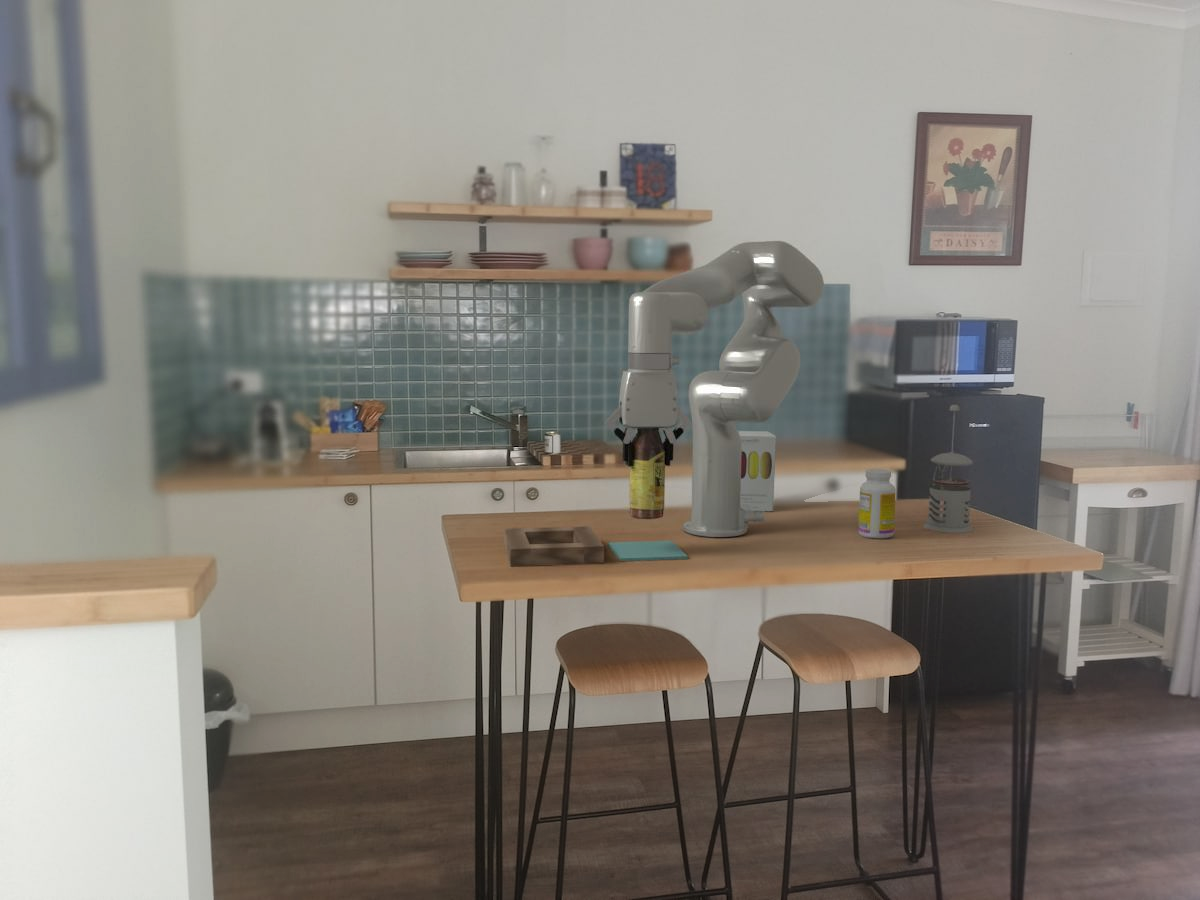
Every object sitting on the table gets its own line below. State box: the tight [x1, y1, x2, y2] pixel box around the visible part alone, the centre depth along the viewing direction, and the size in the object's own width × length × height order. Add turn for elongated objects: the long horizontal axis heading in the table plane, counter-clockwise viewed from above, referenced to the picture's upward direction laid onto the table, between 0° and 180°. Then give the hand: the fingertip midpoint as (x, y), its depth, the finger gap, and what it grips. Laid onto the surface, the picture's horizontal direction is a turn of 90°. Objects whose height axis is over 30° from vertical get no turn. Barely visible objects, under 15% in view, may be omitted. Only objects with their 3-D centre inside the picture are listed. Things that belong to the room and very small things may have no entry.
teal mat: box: [607, 540, 689, 562], centre depth 176 cm, size 12×12×1 cm
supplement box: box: [738, 430, 777, 513], centre depth 216 cm, size 10×9×17 cm
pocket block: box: [503, 525, 605, 567], centre depth 174 cm, size 16×16×3 cm
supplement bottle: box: [858, 468, 896, 540], centre depth 190 cm, size 7×7×13 cm
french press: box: [922, 404, 974, 534], centre depth 198 cm, size 10×12×25 cm
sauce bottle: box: [629, 428, 666, 520], centre depth 174 cm, size 7×6×20 cm
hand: (647, 464), depth 174 cm, fingers closed on sauce bottle, 6 cm apart
